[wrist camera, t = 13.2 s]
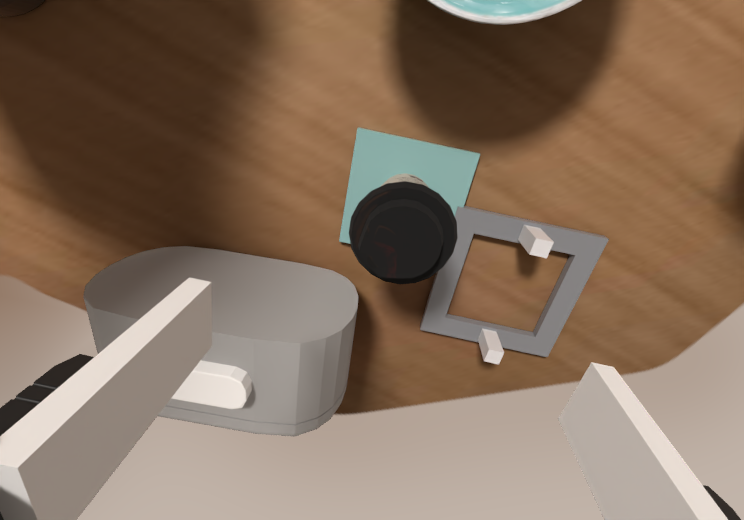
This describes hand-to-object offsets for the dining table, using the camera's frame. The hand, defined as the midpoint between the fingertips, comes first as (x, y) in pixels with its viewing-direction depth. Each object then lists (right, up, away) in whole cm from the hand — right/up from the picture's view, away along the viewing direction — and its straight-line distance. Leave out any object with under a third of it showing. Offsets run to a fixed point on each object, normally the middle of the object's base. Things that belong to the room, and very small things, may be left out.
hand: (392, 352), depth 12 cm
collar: (+12, +1, +21) cm, 24 cm away
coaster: (+2, +9, +19) cm, 21 cm away
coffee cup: (+2, +8, +18) cm, 20 cm away
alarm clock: (-12, 0, +25) cm, 27 cm away
